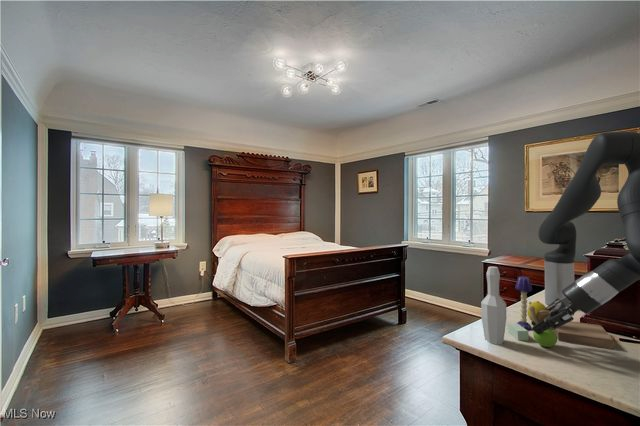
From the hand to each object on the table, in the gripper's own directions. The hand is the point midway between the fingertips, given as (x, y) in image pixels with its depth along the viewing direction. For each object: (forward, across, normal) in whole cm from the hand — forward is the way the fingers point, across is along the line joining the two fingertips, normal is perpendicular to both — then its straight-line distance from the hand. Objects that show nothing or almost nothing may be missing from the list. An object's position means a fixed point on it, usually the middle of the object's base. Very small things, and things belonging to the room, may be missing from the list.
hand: (534, 328), depth 87 cm
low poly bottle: (+10, +3, -4) cm, 11 cm away
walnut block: (-5, -12, +12) cm, 18 cm away
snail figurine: (+2, 0, +5) cm, 5 cm away
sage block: (+6, -4, 0) cm, 7 cm away
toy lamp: (+5, -12, +2) cm, 13 cm away
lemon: (+2, -17, +5) cm, 18 cm away
